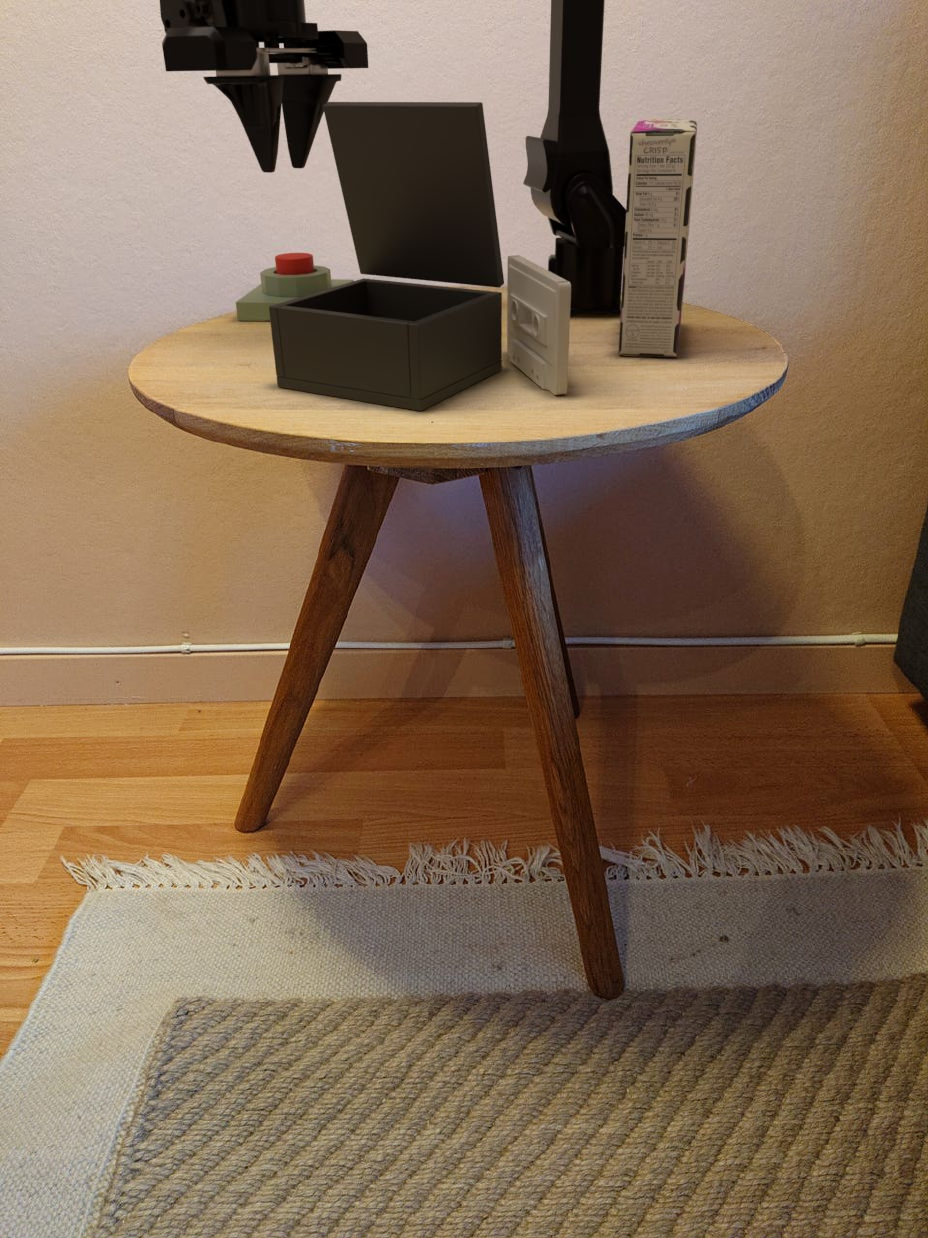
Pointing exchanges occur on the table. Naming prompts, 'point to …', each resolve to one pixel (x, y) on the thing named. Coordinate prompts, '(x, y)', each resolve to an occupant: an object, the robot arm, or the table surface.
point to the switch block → (282, 291)
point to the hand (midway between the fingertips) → (283, 169)
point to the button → (294, 263)
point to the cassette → (538, 323)
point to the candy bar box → (656, 236)
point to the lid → (418, 189)
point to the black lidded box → (387, 341)
